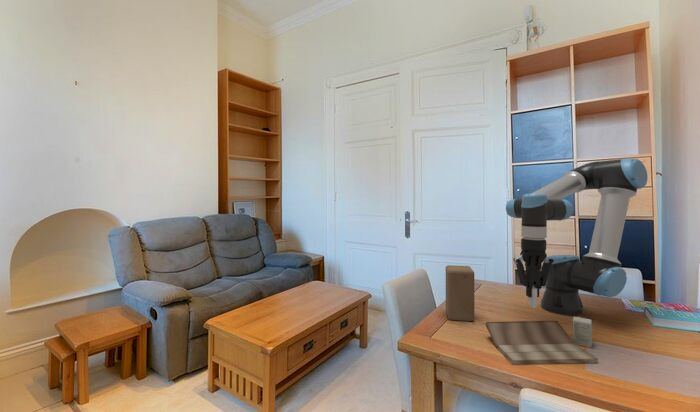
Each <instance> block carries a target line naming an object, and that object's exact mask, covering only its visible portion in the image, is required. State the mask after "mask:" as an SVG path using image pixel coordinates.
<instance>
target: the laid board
mask: <svg viewBox="0 0 700 412" xmlns="http://www.w3.org/2000/svg"><path fill="white" fill-rule="evenodd" d="M497 350H498V352H500V353H501V354H502V355H503V357H505V358H506V360H508V361H509V362H510V363H511V365H553V364H555V365H556V364H557V365H559V364H563V365H564V364H566V365H567V364H598V363H599V358H597V357H596V356H594V355H593V354H591V353H590V352H589V351H587V350H585V349H584V348H583V347H581V346H579V345H578V344H538V345H498V348H497Z"/></svg>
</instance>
